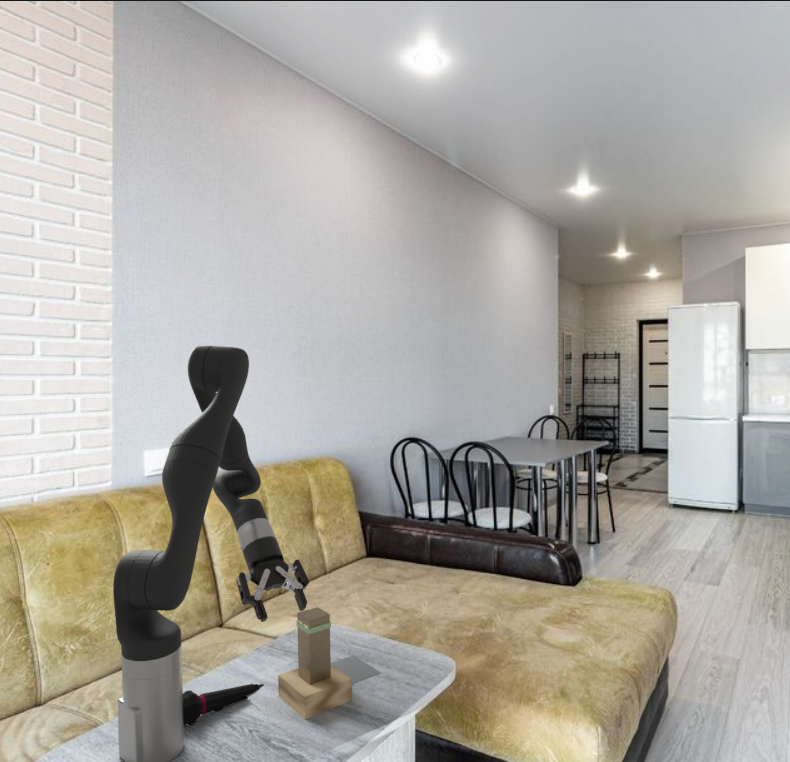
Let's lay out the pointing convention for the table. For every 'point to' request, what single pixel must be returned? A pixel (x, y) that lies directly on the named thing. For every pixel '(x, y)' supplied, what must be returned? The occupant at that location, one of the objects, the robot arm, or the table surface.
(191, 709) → the microphone
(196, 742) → the table surface
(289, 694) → the rest block
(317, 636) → the column
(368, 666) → the coaster
